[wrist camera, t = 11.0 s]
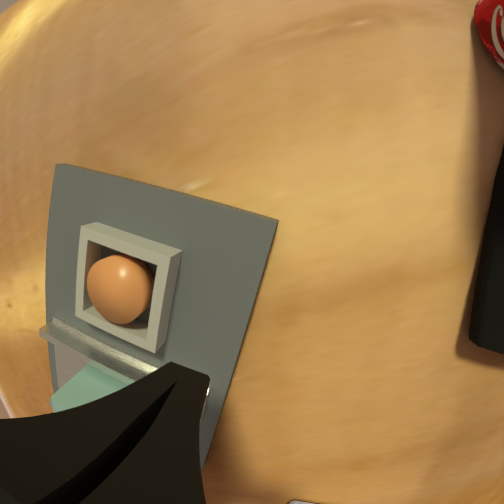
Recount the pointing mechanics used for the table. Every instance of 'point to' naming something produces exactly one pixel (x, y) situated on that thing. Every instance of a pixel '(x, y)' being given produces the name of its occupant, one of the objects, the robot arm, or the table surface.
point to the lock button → (120, 287)
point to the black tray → (491, 276)
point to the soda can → (491, 27)
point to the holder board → (189, 274)
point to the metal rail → (92, 355)
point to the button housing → (163, 290)
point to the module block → (85, 389)
